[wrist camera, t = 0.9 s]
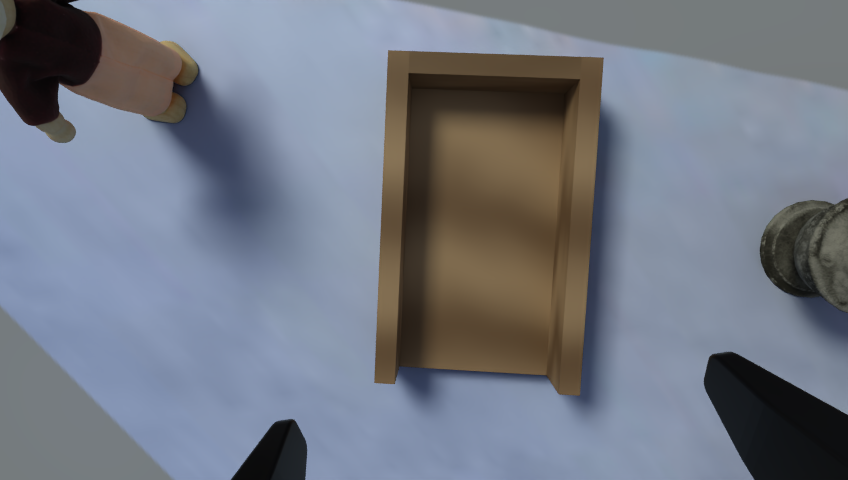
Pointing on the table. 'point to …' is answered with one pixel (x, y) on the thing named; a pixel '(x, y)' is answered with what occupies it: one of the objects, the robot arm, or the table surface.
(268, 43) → the table surface
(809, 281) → the grey tiered stone figure
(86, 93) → the grandmother figurine
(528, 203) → the open-ended wooden tray
